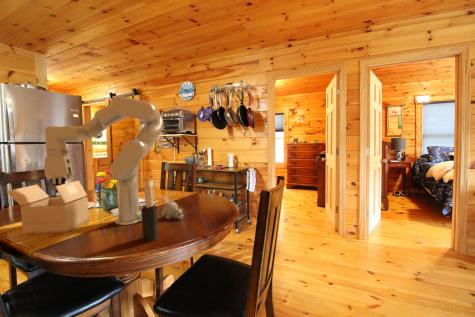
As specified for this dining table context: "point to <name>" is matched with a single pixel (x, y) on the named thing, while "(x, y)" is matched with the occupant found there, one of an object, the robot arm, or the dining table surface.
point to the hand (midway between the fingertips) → (59, 192)
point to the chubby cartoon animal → (172, 210)
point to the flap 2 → (71, 191)
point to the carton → (54, 215)
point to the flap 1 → (28, 194)
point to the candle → (149, 215)
